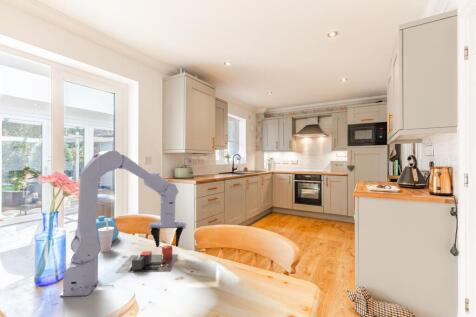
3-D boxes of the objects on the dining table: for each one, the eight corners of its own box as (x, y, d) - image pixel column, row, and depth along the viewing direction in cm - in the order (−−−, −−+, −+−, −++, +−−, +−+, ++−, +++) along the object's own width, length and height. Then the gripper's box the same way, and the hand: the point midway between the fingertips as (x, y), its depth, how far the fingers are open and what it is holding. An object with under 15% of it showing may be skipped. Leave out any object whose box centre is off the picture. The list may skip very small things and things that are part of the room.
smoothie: (117, 248, 105) (117, 217, 105) (107, 253, 99) (108, 221, 99) (103, 247, 106) (104, 217, 106) (93, 252, 99) (94, 220, 99)
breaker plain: (141, 269, 81) (141, 259, 81) (131, 269, 81) (132, 260, 81) (144, 265, 84) (144, 256, 84) (135, 265, 84) (135, 256, 84)
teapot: (98, 250, 102) (98, 222, 102) (61, 247, 106) (61, 219, 106) (128, 236, 121) (128, 212, 121) (95, 234, 125) (96, 210, 125)
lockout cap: (171, 259, 91) (171, 248, 91) (160, 259, 91) (160, 249, 91) (173, 254, 95) (173, 245, 95) (163, 255, 95) (163, 245, 95)
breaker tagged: (148, 264, 85) (149, 254, 85) (140, 264, 85) (140, 254, 85) (151, 260, 88) (151, 251, 88) (142, 260, 88) (143, 251, 88)
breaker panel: (170, 274, 81) (170, 268, 81) (114, 276, 79) (114, 270, 79) (178, 257, 96) (178, 251, 96) (131, 258, 94) (131, 252, 94)
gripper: (187, 210, 98) (187, 242, 97) (152, 210, 97) (152, 242, 96) (184, 214, 91) (184, 248, 90) (147, 214, 89) (146, 249, 89)
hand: (167, 246), depth 93 cm, fingers open, 7 cm apart
